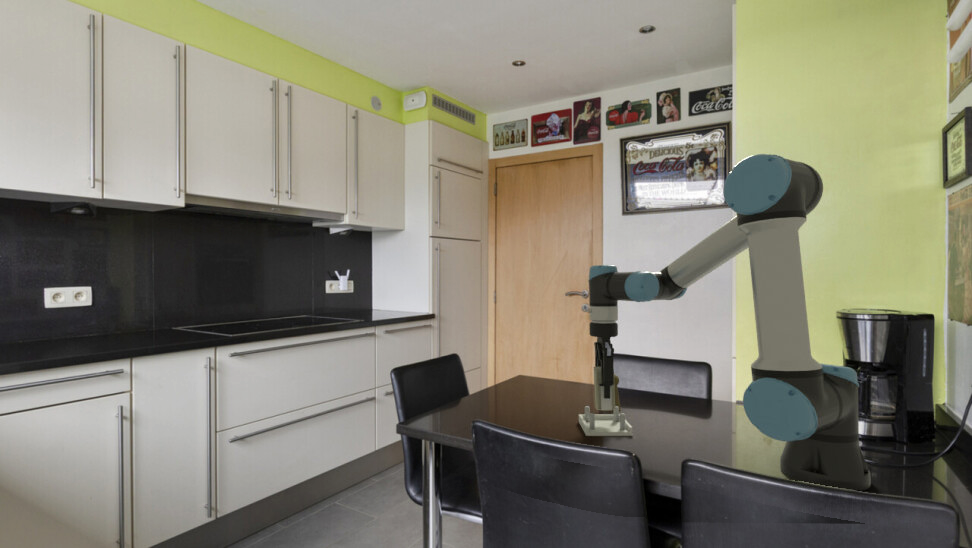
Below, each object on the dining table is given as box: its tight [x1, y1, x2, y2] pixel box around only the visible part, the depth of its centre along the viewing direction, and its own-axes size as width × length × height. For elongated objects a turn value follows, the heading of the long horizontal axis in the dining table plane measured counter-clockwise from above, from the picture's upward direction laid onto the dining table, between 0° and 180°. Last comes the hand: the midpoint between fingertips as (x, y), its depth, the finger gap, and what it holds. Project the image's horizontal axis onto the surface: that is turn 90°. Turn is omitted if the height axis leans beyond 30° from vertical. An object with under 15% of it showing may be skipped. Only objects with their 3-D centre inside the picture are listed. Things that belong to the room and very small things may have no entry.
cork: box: [601, 374, 622, 414], centre depth 149 cm, size 6×6×11 cm
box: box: [593, 366, 615, 411], centre depth 131 cm, size 5×4×11 cm
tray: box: [578, 405, 634, 437], centre depth 130 cm, size 12×12×5 cm
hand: (604, 407), depth 130 cm, fingers closed on box, 4 cm apart
